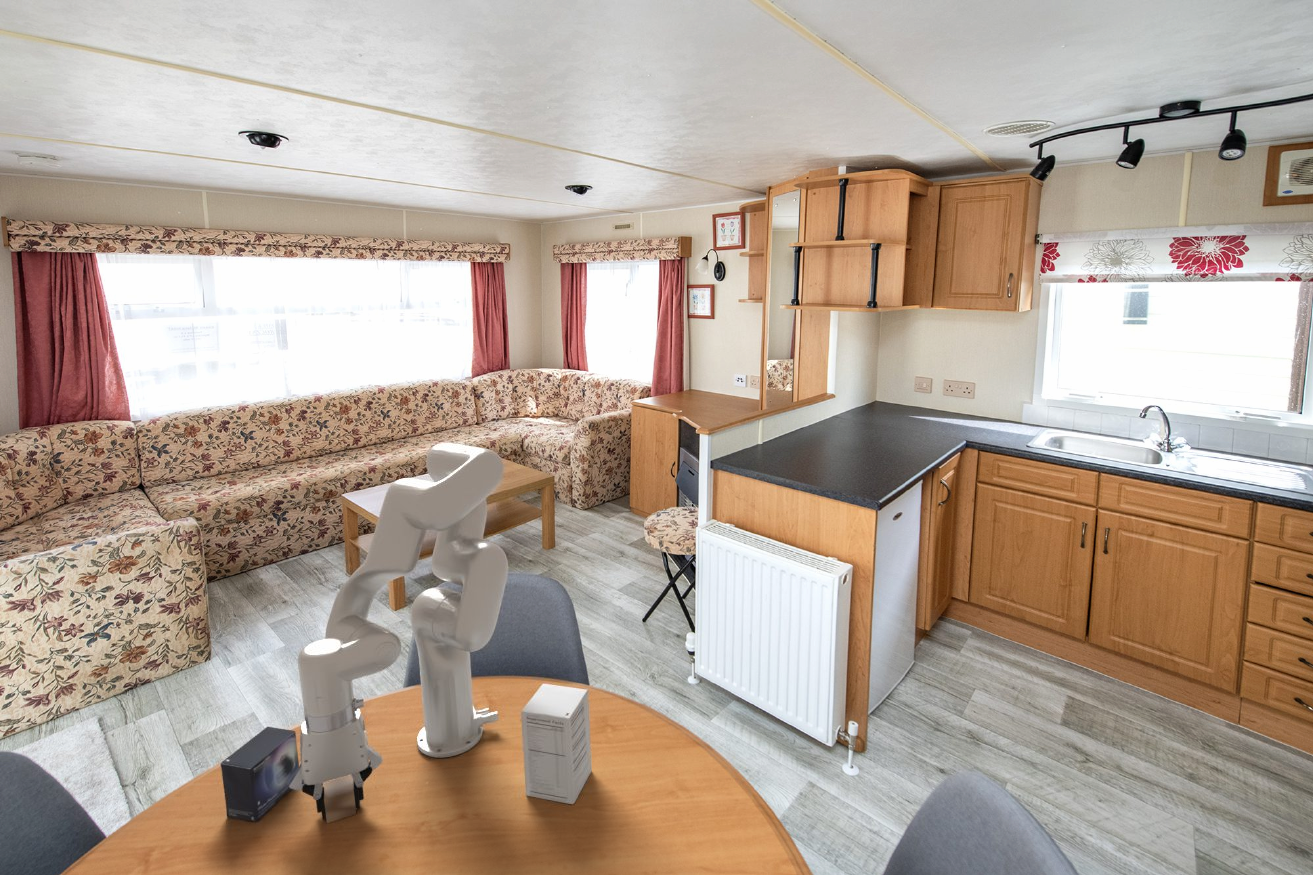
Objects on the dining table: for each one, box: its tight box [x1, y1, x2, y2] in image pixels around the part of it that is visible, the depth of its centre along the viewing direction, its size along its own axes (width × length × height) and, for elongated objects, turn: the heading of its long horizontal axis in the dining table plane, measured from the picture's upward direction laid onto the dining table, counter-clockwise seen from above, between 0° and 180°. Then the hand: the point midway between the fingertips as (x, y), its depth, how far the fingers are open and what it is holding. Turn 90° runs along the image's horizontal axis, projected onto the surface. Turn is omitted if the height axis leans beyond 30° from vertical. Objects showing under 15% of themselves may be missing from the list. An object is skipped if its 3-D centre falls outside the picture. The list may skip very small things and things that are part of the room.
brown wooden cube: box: [323, 775, 357, 824], centre depth 112 cm, size 4×4×4 cm
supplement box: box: [520, 683, 592, 805], centre depth 117 cm, size 10×9×17 cm
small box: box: [220, 726, 300, 823], centre depth 114 cm, size 11×6×10 cm, turn 168°
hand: (341, 807), depth 112 cm, fingers closed on brown wooden cube, 4 cm apart
